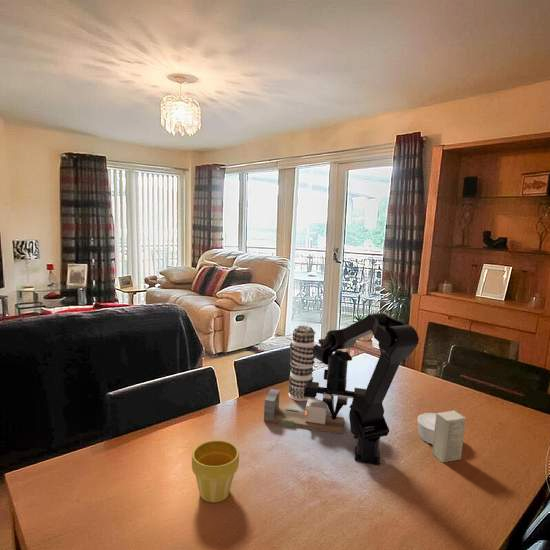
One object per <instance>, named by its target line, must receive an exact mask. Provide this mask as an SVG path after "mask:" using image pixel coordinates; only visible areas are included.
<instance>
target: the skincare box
mask: <svg viewBox="0 0 550 550" xmlns="http://www.w3.org/2000/svg"><path fill="white" fill-rule="evenodd" d="M466 420H467V418H466V417H465V416H464V415H462V414H461V413H459V412H457V410H454V409H453V410H447V411H439V412H436V422H435V431H434V440H433V445H432V450H431V454H432V455H433V456H434V457H436V458H437V460H439V461H440V462H441V463H449V462H452V461H453V462H454V461H458V460H461V459H462V452H463V445H464V435H465V429H466V427H465V426H466ZM448 461H449V462H448Z"/></svg>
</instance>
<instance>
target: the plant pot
mask: <svg viewBox="0 0 550 550" xmlns="http://www.w3.org/2000/svg"><path fill="white" fill-rule="evenodd" d="M239 463H240V451H239V449H238V447H237V446H236V445H235V444H233V442H230V441H227V440H223V439H222V440H220V439H215V440H214V439H211V440H207V441H204V442H201V443H200V444H198V445H197V446H195V448H194V449H193V450H192V454H191V469H192V470H191V471H192V472H193V475H195V477H196V478H195V479H196V482H197V483H196V484H197V487H198V493H199V495H200V498H201V499H202V500H203V501H204V502H208V503H212V504H213V503H220V502H222V501H224V500H226V499H227V497H228V496H230V495H229V494H230V490H231V487H232V483H233V479H234V476H235V473H236V472H238V471H237V470H238V468H239Z"/></svg>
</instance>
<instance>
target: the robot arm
mask: <svg viewBox="0 0 550 550" xmlns="http://www.w3.org/2000/svg"><path fill="white" fill-rule="evenodd" d="M370 334H372V336H373V338H374V339H375V340H376V341H377V342H378V348H379V352H380V355H379V358H378V359H377V363H376V365H375V368H374V370H373V372H372V375H371V376H370V379H369V382H368V385H367V387H366V388H359V387H354V390H353V391H352V390H348V389H346V388H347V380H348V379H347V376H348V375H347V374H348V362H350V361H353V358H352V357H353V356H351V355H350V353H349V351H343V350H347V349H351V348H352V347H353V346H355V345H356V343H357V341H358V340H360V339H361V338H364V337H367V336H369V335H370ZM419 341H420V338H419V336H418V332H417V330H416V329H415V327H413V326H412V325H409V324H406V323H405V322H403V321H400V320H398V319H395V318H393V317H390V316H389V315H388V314H386V313H383V312H378V313H376V312H375V313H369V314H367V315H366V316H365V317H364V318H361V319H360V320H358V321H355V322H354V323H352V324H350V325H348V326H347V327H345V328H337V329H331V330H329V331H327V333H326V336H325V337H324V338H320V339H318V342H317V343H316V344H314V346H315V347H314V349H313V351H312V352H313V356H314V357H315V359H316V360H318V361H320V362H321V363H322V364H324V365H325V366H327V369H324V370H323V372H324V373H323V380H324V381H326V387H323V386H320V382H317V381H313V382H311V381H308V382H307V383H306V385H305V388H304V396H305V397H310V398H311V399H315V397H317V394H322V396H323V397H322V401H323V402H326V404H327V409H328V410H329V413H330V415H331V416H332V419H333V420H335V419H336V417H338V415H339V412H340V410H341V409H342V408H343V406H347V405H348V400H349V399H352V400H351V401H352V403H351V404H350V405H349V415H348V416H349V418H348V419H349V425H350V433H351V435H353V439H355V440H357V443H356V444H357V445H355V447H354V461H356V462H361V463H367V464H373V465H378V466H379V465H381V452H380V443H381V437H387V436H388V435H389V432H390V427H389V426H388V424H387V422H386V419H385V417H384V414H385V408H384V405H383V402H384V400H385V398H386V396H387V393H388V391H389V389H390V386H391V385H392V382H393V380H394V378H395V376H396V373H397V372H398V369H399V367H400V364H401V363H402V362H403V361H404V360H405V359H406V358H408V357H409V356H410V355H411V354H412V353H413V352H414V350H415V349H416V348H417V347H418V345H419ZM334 396H335V397H337V399H336V404H335V402H334V401H335V399H334V398H335V397H334Z"/></svg>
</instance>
